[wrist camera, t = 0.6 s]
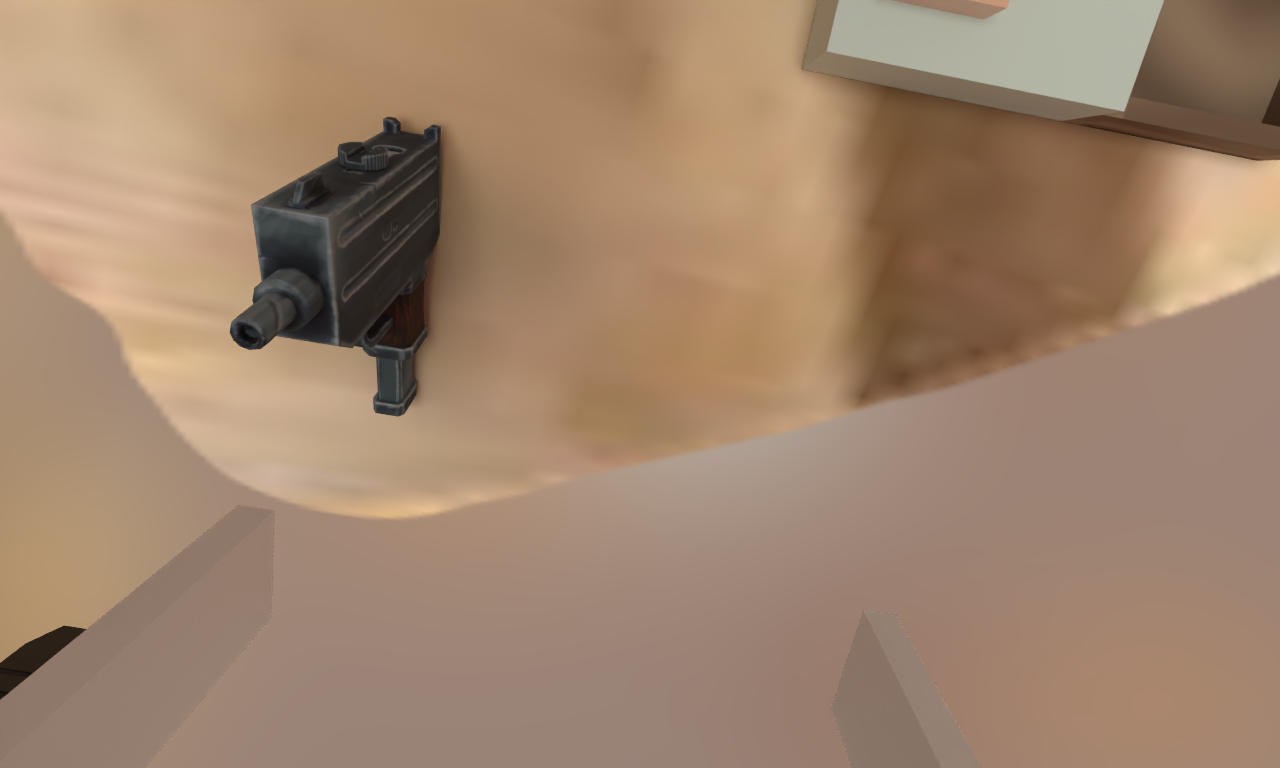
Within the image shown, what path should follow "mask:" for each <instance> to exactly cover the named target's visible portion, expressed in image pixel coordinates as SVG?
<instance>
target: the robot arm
mask: <svg viewBox="0 0 1280 768" xmlns="http://www.w3.org/2000/svg"><path fill="white" fill-rule="evenodd" d="M274 513H275V511H273V510H267V509H261V508H255V507H250V506H243V505H238V506H237V507H235V508H234V509H233V510H232V511H231V512H229V513H228V514H227V515H226V516H224V517H223V518H222V519H221V520H219V521H218V522H217V523H216V524H215V525H214V526H212V527H211V528H210V529H208V530H207V531H206V532H205V533H204V534H203V535H201V536H200V537H199V538H197V539H196V540H195V541H194V542H193V543H191V544H190V545H189V546H188V547H186V548H185V549H184V550H183V551H182V552H180V553H179V554H178V555H177V556H176V557H174V558H173V559H172V560H171V561H169V562H168V563H167V564H166V565H165V566H163V567H162V568H161V569H160V570H158V571H157V572H156V573H155V574H154V575H152V576H151V577H150V578H149V579H147V580H146V581H145V582H144V583H143V584H141V585H140V586H139V587H138V588H136V589H135V590H134V591H133V592H132V593H130V594H129V595H128V596H127V597H125V598H124V599H123V600H122V601H121V602H119V603H118V604H117V605H116V606H114V607H113V608H112V609H111V610H110V611H108V612H107V613H106V614H105V615H103V616H102V617H101V618H100V619H99V620H97V621H96V622H95V623H94V624H92V625H91V626H90V627H89V628H88V629H82V628H76V627H70V626H62V627H60V628H58V629H56V630H54V631H52V632H49V633H47V634H45V635H43V636H41V637H39V638H37V639H34V640H32V641H30V642H28V643H26V644H25V645H23V646H22V647H20V648H19V649H18V650H17V651H15V652H14V653H13V654H11V655H10V656H9V657H8V658H6V659H5V660H3V661H2V662H1V663H0V768H146V767H147V765H148V764H149V763H150V762H151V761H152V759H153V758H154V757H155V756H156V755H157V753H158V752H159V751H160V750H161V748H163V746H164V745H165V744H166V743H167V742H168V740H169V739H170V738H171V737H172V735H173V734H174V733H175V732H176V731H177V730H178V728H179V727H180V726H181V725H182V724H183V722H184V721H185V720H186V719H187V718H188V717H189V715H190V714H191V713H192V712H193V711H194V709H195V708H196V707H197V706H198V704H199V703H200V702H201V701H202V700H203V699H204V697H205V696H206V695H207V694H208V693H209V691H210V690H211V689H212V688H213V687H214V686H215V684H216V683H217V682H218V681H219V680H220V678H221V677H222V676H223V675H224V674H225V672H226V671H227V670H228V669H229V668H230V666H231V665H232V664H233V663H234V662H235V661H236V659H237V658H238V657H239V656H240V655H241V653H242V652H243V651H244V650H245V649H246V647H247V646H248V645H249V644H250V643H251V641H252V640H253V639H254V638H255V637H256V636H257V634H258V633H259V632H260V631H261V630H262V628H263V627H264V626H265V625H266V624H267V622H268V621H269V620H270V619H271V616H272V583H273V582H272V581H273V547H274V515H275V514H274ZM831 710H832V713H833V716H834V718H835V721H836V724H837V727H838V730H839V733H840V736H841V739H842V742H843V744H844V748H845V751H846V753H847V756H848V759H849V762H850V765H851V768H982V767H981V765H980V763H979V762H978V760H977V758H976V756H975V754H974V753H973V751H972V749H971V747H970V746H969V744H968V742H967V740H966V738H965V737H964V735H963V733H962V731H961V729H960V728H959V726H958V724H957V722H956V721H955V719H954V717H953V715H952V714H951V712H950V710H949V708H948V706H947V705H946V703H945V701H944V699H943V697H942V696H941V694H940V692H939V690H938V689H937V687H936V685H935V683H934V681H933V680H932V678H931V676H930V675H929V672H928V671H927V669H926V667H925V665H924V664H923V662H922V660H921V658H920V656H919V655H918V653H917V651H916V650H915V648H914V646H913V644H912V642H911V640H910V639H909V637H908V635H907V634H906V632H905V630H904V628H903V627H902V624H901V623H900V621H899V619H898V617H897V616H896V615H892V614H886V613H879V612H873V611H867V610H863V613H862V616H861V619H860V622H859V625H858V628H857V631H856V634H855V637H854V640H853V643H852V646H851V649H850V652H849V655H848V658H847V661H846V664H845V667H844V670H843V673H842V676H841V679H840V682H839V685H838V688H837V691H836V694H835V697H834V700H833V703H832V706H831Z"/></svg>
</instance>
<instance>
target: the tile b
mask: <svg viewBox="0 0 1280 768" xmlns="http://www.w3.org/2000/svg"><path fill="white" fill-rule="evenodd" d="M893 1H898V2H903V3H908V4H912V5H917V6H922V7H927V8H932V9H937V10H941V11H946V12H951V13H956V14H961V15H966V16H971V17H975V18H980V19H986V18H988V17H990V16H992V15H994V14H996V13H998V12H1000V11H1002V10H1004V9H1006V8H1007V7H1008V3H1009V0H893Z"/></svg>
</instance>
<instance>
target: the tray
mask: <svg viewBox="0 0 1280 768" xmlns="http://www.w3.org/2000/svg"><path fill="white" fill-rule="evenodd" d="M1063 122H1068V123H1073V124H1078V125H1083V126H1088V127H1093V128H1098V129H1103V130H1108V131H1112V132H1117V133H1122V134H1127V135H1132V136H1137V137H1142V138H1147V139H1152V140H1157V141H1162V142H1167V143H1172V144H1177V145H1182V146H1187V147H1192V148H1197V149H1202V150H1207V151H1212V152H1217V153H1222V154H1227V155H1232V156H1237V157H1242V158H1247V159H1252V160H1280V0H1164V2H1163V5H1162V8H1161V10H1160V13H1159V16H1158V19H1157V22H1156V24H1155V27H1154V30H1153V33H1152V35H1151V38H1150V41H1149V44H1148V47H1147V49H1146V52H1145V55H1144V58H1143V61H1142V63H1141V66H1140V69H1139V72H1138V75H1137V77H1136V80H1135V83H1134V86H1133V88H1132V91H1131V94H1130V97H1129V100H1128V102H1127V105H1126V108H1125V111H1124V112H1118V113H1111V114H1105V115H1098V116H1091V117H1084V118H1078V119H1071V120H1064V121H1063Z"/></svg>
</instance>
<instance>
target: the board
mask: <svg viewBox="0 0 1280 768" xmlns="http://www.w3.org/2000/svg"><path fill="white" fill-rule="evenodd" d="M1163 2H1164V0H1009V3H1008V7H1007V8H1006V9H1004V10H1002V11H1000V12H998V13H996V14H994V15H992V16H990V17H988V18H986V19H980V18H975V17H971V16H966V15H961V14H956V13H951V12H946V11H941V10H937V9H932V8H927V7H922V6H917V5H912V4H908V3H903V2H898V1H893V0H818V2H817V6H816V10H815V15H814V19H813V24H812V28H811V32H810V37H809V41H808V45H807V50H806V54H805V58H804V63H803V67H802V69H803V70H808V71H813V72H818V73H823V74H828V75H833V76H838V77H843V78H848V79H853V80H858V81H863V82H868V83H873V84H878V85H883V86H888V87H893V88H898V89H903V90H908V91H913V92H918V93H923V94H928V95H933V96H938V97H943V98H948V99H953V100H958V101H963V102H968V103H973V104H978V105H983V106H988V107H993V108H998V109H1003V110H1008V111H1013V112H1018V113H1023V114H1028V115H1033V116H1038V117H1043V118H1048V119H1053V120H1058V121H1064V120H1071V119H1078V118H1084V117H1091V116H1098V115H1105V114H1111V113H1118V112H1124V111H1125V108H1126V105H1127V102H1128V100H1129V97H1130V94H1131V91H1132V88H1133V86H1134V83H1135V80H1136V77H1137V75H1138V72H1139V69H1140V66H1141V63H1142V61H1143V58H1144V55H1145V52H1146V49H1147V47H1148V44H1149V41H1150V38H1151V35H1152V33H1153V30H1154V27H1155V24H1156V22H1157V19H1158V16H1159V13H1160V10H1161V8H1162V5H1163Z"/></svg>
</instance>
